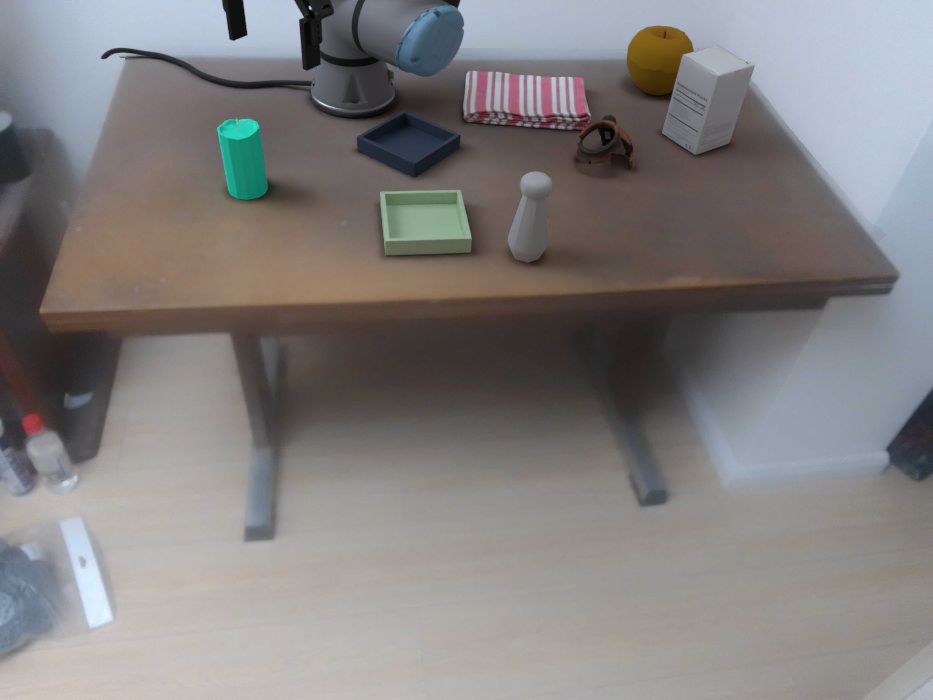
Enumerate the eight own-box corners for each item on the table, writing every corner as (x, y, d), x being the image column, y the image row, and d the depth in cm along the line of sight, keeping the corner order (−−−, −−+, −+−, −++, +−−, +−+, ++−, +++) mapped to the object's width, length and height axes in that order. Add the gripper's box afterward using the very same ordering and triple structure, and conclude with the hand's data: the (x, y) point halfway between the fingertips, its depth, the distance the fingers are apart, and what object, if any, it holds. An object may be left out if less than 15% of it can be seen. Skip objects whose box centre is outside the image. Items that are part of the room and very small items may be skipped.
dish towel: (590, 132, 138) (594, 114, 136) (462, 123, 137) (463, 105, 135) (581, 88, 150) (585, 71, 148) (463, 79, 150) (464, 62, 147)
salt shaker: (504, 241, 114) (513, 164, 104) (542, 241, 114) (554, 165, 105) (508, 266, 109) (519, 188, 100) (548, 266, 110) (562, 189, 101)
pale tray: (385, 255, 109) (385, 241, 107) (380, 205, 118) (380, 191, 116) (470, 252, 111) (472, 238, 109) (459, 203, 120) (460, 189, 118)
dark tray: (357, 150, 129) (356, 136, 127) (404, 123, 136) (404, 110, 134) (414, 177, 124) (414, 163, 122) (459, 148, 131) (460, 134, 130)
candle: (275, 183, 120) (265, 113, 112) (255, 203, 116) (244, 132, 108) (241, 174, 121) (229, 104, 113) (220, 194, 117) (206, 122, 109)
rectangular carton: (695, 122, 144) (718, 43, 133) (730, 144, 138) (757, 64, 128) (659, 133, 140) (681, 52, 129) (694, 156, 135) (719, 74, 124)
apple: (610, 90, 151) (622, 32, 143) (635, 67, 159) (648, 11, 151) (671, 110, 146) (687, 51, 138) (694, 85, 154) (710, 29, 146)
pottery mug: (638, 181, 128) (626, 147, 122) (584, 194, 132) (569, 162, 126) (636, 130, 134) (624, 95, 128) (585, 144, 138) (570, 110, 132)
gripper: (157, -144, 92) (189, 33, 107) (314, -97, 83) (325, 89, 98) (205, -153, 96) (229, 18, 111) (359, -109, 87) (362, 70, 102)
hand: (274, 52), depth 104 cm, fingers open, 13 cm apart
